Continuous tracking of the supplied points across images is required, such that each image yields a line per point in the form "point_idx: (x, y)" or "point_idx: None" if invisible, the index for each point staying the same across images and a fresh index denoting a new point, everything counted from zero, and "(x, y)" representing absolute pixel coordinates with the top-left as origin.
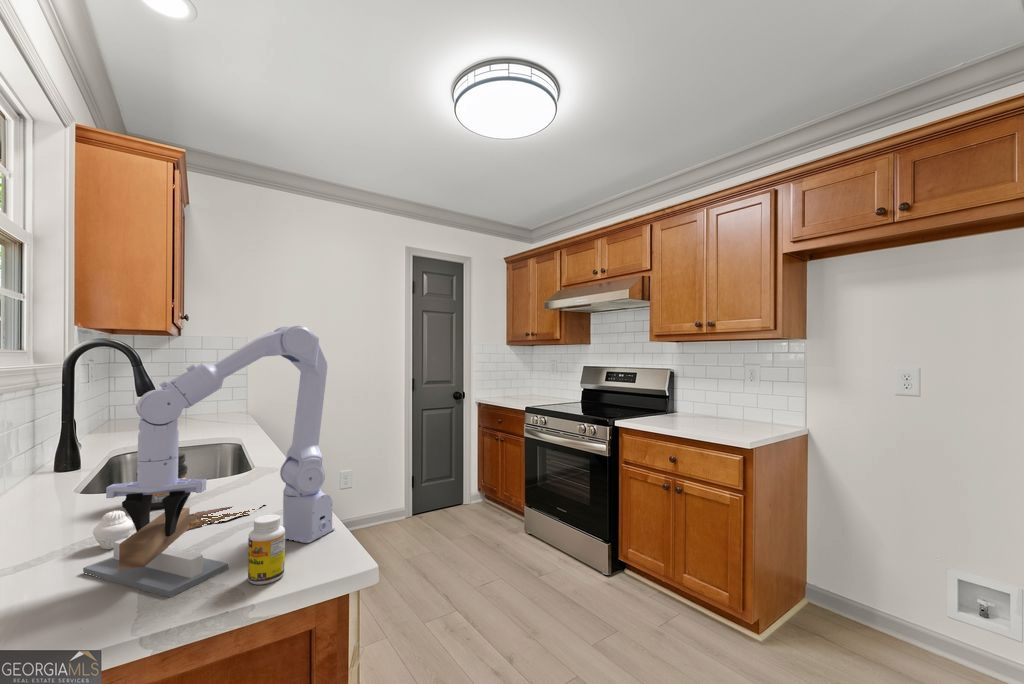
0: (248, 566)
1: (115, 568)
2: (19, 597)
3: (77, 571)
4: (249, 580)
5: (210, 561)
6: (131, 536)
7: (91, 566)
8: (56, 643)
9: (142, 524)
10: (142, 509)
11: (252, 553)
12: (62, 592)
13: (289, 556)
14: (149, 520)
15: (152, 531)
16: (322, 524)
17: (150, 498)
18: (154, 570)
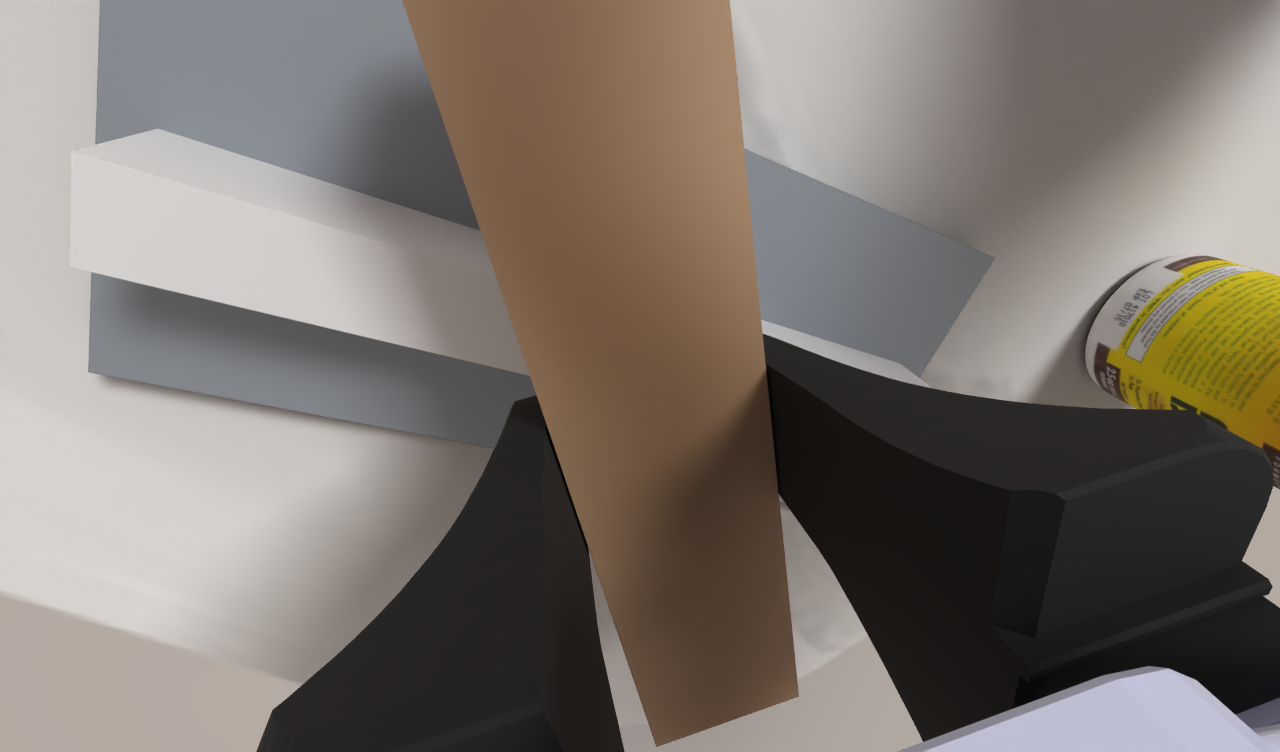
0: (1148, 407)
1: (358, 363)
2: (96, 591)
3: (13, 327)
4: (1098, 385)
5: (894, 239)
6: (642, 669)
7: (131, 350)
8: (637, 712)
9: (584, 560)
10: (606, 706)
11: None
12: (279, 528)
13: (1256, 74)
14: (546, 448)
15: (737, 583)
16: None
17: (566, 660)
18: None
